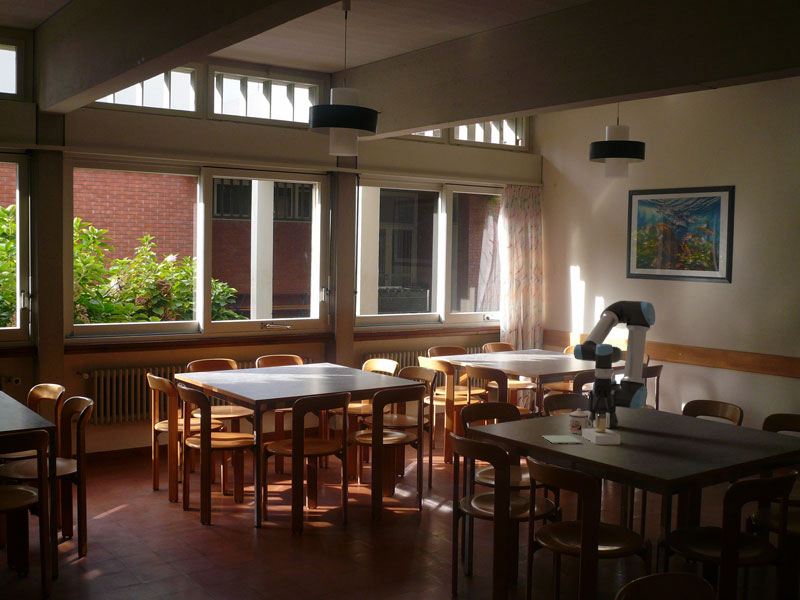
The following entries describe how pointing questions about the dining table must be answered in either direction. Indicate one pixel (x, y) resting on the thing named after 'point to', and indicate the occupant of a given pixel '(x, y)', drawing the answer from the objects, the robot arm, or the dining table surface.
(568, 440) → the mat
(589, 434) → the white flat block
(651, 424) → the dining table surface
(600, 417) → the yellow tall cylinder
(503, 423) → the dining table surface
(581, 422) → the teacup with lid
